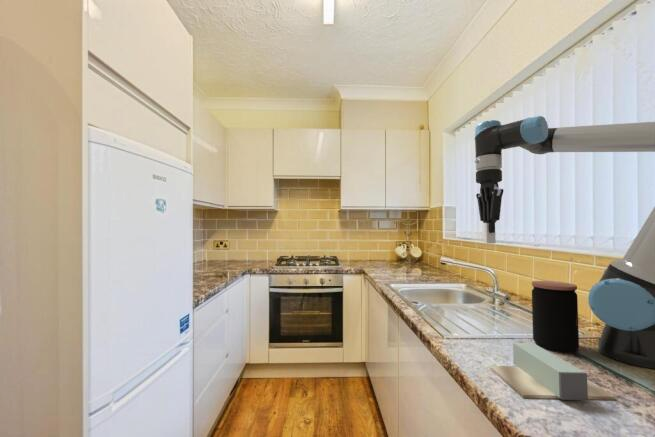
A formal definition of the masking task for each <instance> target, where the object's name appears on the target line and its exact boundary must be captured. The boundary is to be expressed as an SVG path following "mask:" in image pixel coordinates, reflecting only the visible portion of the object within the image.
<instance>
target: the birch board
mask: <svg viewBox="0 0 655 437" xmlns="http://www.w3.org/2000/svg"><path fill="white" fill-rule="evenodd" d="M489 369H490V370H491V371H492V372H493V373H494V374H495V375H497V377H499V378H500V379H501V380H502V381H503V382H504V383H505V384H506V385H508V386H509V387H510V388H511V389H512V390H514V392H516V393H517V394H518V395H519V397H521V398H522V399H558V400H559V399H560V398H559V397H557V396H556V395H555V394H553V393H552V392H551V391H549V390H548V389H547V388H546V387H544V386H543V385H542V384H540V383H539V382H538V381H536V380H535V379H534V378H532V377H531V376H530V375H528V374H527V373H526V372H524V371H523V370H522V369H520V368H519V367H518V366H516V365H514V366H511V365H510V366H509V365H489ZM587 387H588V400H607V401H608V400H609V401H611V400H612V401H613V400H617V398H616V396H615V395H614V394H612V393H610V392H609V391H607V390H605V389H604V388H602V387H601V386H599V385H597V384H595V383H593V382H592V381H590V380H588V379H587ZM560 400H561V399H560Z"/></svg>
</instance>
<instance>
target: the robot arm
mask: <svg viewBox="0 0 655 437" xmlns="http://www.w3.org/2000/svg"><path fill="white" fill-rule="evenodd" d="M474 131H475V132H474V145H475V146H474V147H475V148H474V149H475V150H474V151H475V159H474V163H475V170H476V171H475V182H476V184H480V188H479V193H476V195H475V196H476V199H477V203H478V206H477V207H478V211H479V212H478V213H479V219H480V222H483V223H484V224H483V225H484V228H483V229H484V244H496V243H497V242H496V223H497V221H500V218H501V207H502V199H503V194H504V188H499V187H500V186H499V183H500V182H502V181H503V171H502V167H503V162H502V160H503V159H502V157H503V155H502V151H503V150H507V149H513V148H518V147H520V148H522V149H523V150H526V151H528V152H530V153H532V154H535V155H545V154H548V153H633V152H634V153H641V152H642V153H644V152H647V153H648V152H649V153H655V121H647V122H646V121H645V122H630V123H629V122H628V123H627V122H626V123H612V124H595V125H594V124H593V125H579V126H577V125H576V126H564V127H563V126H561V127H549V125H548V121H547V120H546V118H545V117H544V116H541V115H538V116H533V117H527V118H524V119H520V120H517V121H512V122H509V123H506V124H502V123H501V121H499V120H495V119H491V120H484V121H481V122H479V123H478V124H476V126H475V130H474ZM587 298H588V301H587V302H588V305H589V308H590V310H591V311H592V313H593V315H594V316H595V317H597V319H599V320H600V321H601V322H603V323H604V327H603V329H602V331H601V335H600V338H599V339H598V341H597V349H598V352H599V353H601V354H602V355H604V356H606V357H608V358H610V357H611V359H613V358H614V359H613V360H615V359H617V360H616V361H618V360H619V361H618V362H622V361H623V362H622V363H625V364H629V365H634V366H636V367H637V366H638V367H641V368H649V369H655V206H654V207H653V208H652V210H651V212H650V213H649V215H648V217H647V219H646V220H645V222H644V223H643V225H642V226H641V228H640V230H639V231H638V233H637V234H636V236H635V237H634V240H633V241H632V243H631V244H630V246H629V247H628V249H627V250H626V253H625V254H624V256H623V257H622V258H621V259H617V260H613V261H611V262H610V263H609V265H608V266H607V268H605V269H604V270H603V274H602V276H601V278H600V280H599V281H598V282H596V283H595V284H594V285H592V286H591V288H590V290H589V292H588V297H587Z"/></svg>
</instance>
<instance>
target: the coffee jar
mask: <svg viewBox="0 0 655 437" xmlns="http://www.w3.org/2000/svg"><path fill="white" fill-rule="evenodd" d="M531 285H532V287H533V288H532V290H531V305H532V306H531V309H532V310H531V311H532V312H531V313H532V340H533V341H534V344H536V345H538V346H539V347H541V348H543V349H544V348H545V350H547V349H548V350H547V351H551V352H555V351H556V353H562V354H563V353H565V354H569V353H570V354H572V353H575V352H577V351H578V350H579V348H580V337H579V332H580V331H579V309H578V308H579V306H578V305H579V304H578V303H579V302H578V294H577V292H576V291H577V289H578V285H576V284H574V283H569V282H564V281H563V282H561V281H553V280H534V281H531Z"/></svg>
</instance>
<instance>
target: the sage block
mask: <svg viewBox="0 0 655 437" xmlns="http://www.w3.org/2000/svg"><path fill="white" fill-rule="evenodd" d="M512 351H513V352H512V355H513V359H512V361H513V364H514V366H518V367H519V368H520V369H522V370H523V371H524V372H526V373H527V374H528V375H530V376H531V377H532V378H534V379H535V380H536V381H538V382H539V383H540V384H542V385H543V386H544V387H546V388H547V389H548V390H549V391H551V392H552V393H553V394H555V395H556V396H557V397H559V398H560V400H568V401H569V400H572V401H585V400H586V401H588V400H589V399H588V387H587V380H588V373H587V372H585V371H583V370H581V369H580V368H578V367H577V366H574V365H573V364H571V363H569V362H567V361H566V360H564V359H563V358H560V357H558V355H555V354H553V353H552V352H550V351H549V350H547V349H544V348H542V347H540V346H538V345H537V344H536V343H535V342H513V343H512Z"/></svg>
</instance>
